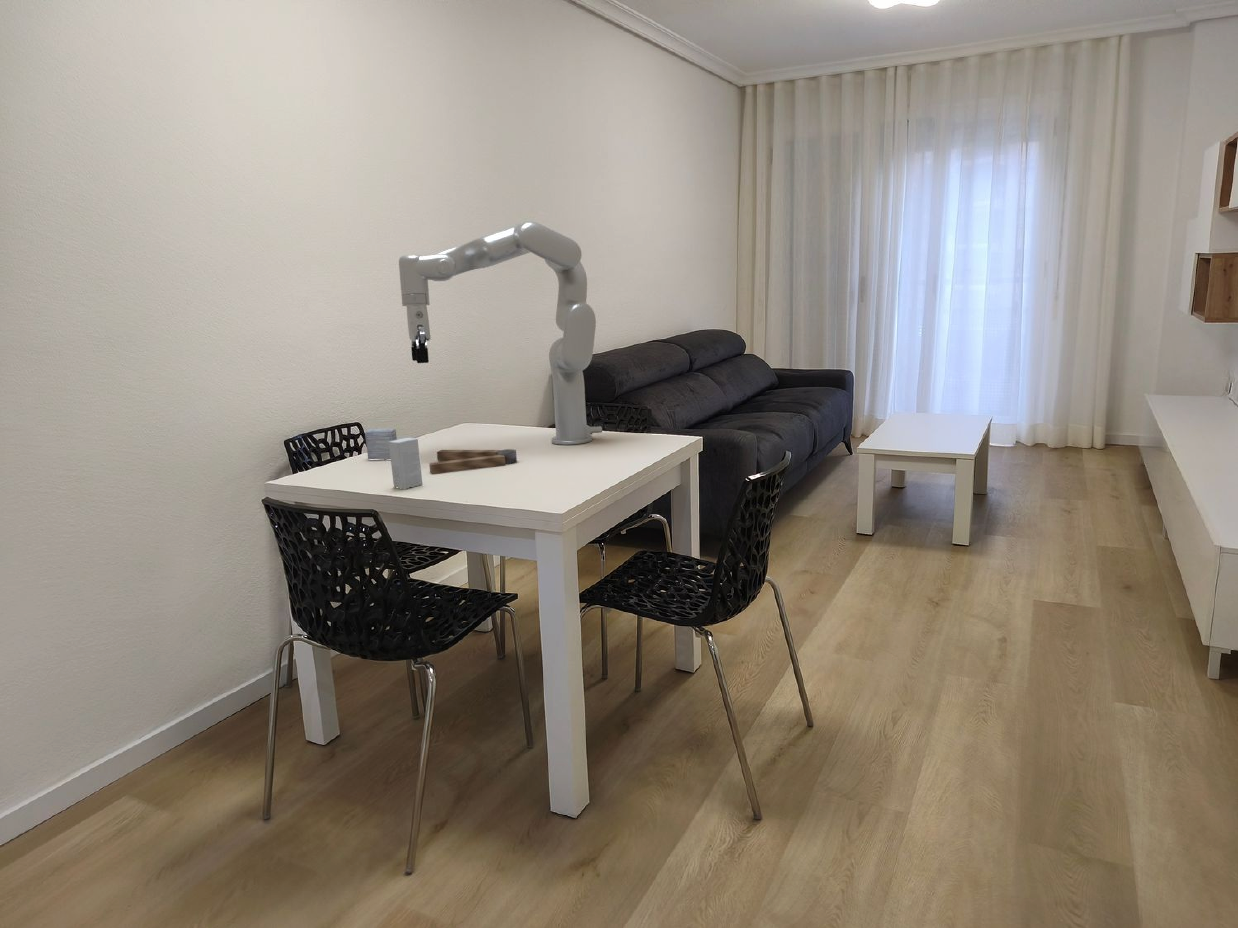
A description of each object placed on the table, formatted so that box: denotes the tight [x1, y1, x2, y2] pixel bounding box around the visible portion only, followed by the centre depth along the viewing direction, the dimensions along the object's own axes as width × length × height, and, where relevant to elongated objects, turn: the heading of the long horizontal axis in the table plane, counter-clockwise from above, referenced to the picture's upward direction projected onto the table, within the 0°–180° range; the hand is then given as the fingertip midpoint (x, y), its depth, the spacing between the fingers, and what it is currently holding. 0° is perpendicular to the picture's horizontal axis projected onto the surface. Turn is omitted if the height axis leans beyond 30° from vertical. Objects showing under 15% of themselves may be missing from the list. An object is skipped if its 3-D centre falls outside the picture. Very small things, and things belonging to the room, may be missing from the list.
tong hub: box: [428, 449, 518, 475], centre depth 241 cm, size 24×6×3 cm, turn 111°
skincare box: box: [389, 437, 423, 490], centre depth 220 cm, size 6×4×12 cm
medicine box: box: [364, 428, 398, 460], centre depth 258 cm, size 8×4×9 cm, turn 84°
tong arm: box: [436, 449, 500, 462], centre depth 250 cm, size 18×3×2 cm, turn 76°
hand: (420, 361), depth 251 cm, fingers open, 9 cm apart
